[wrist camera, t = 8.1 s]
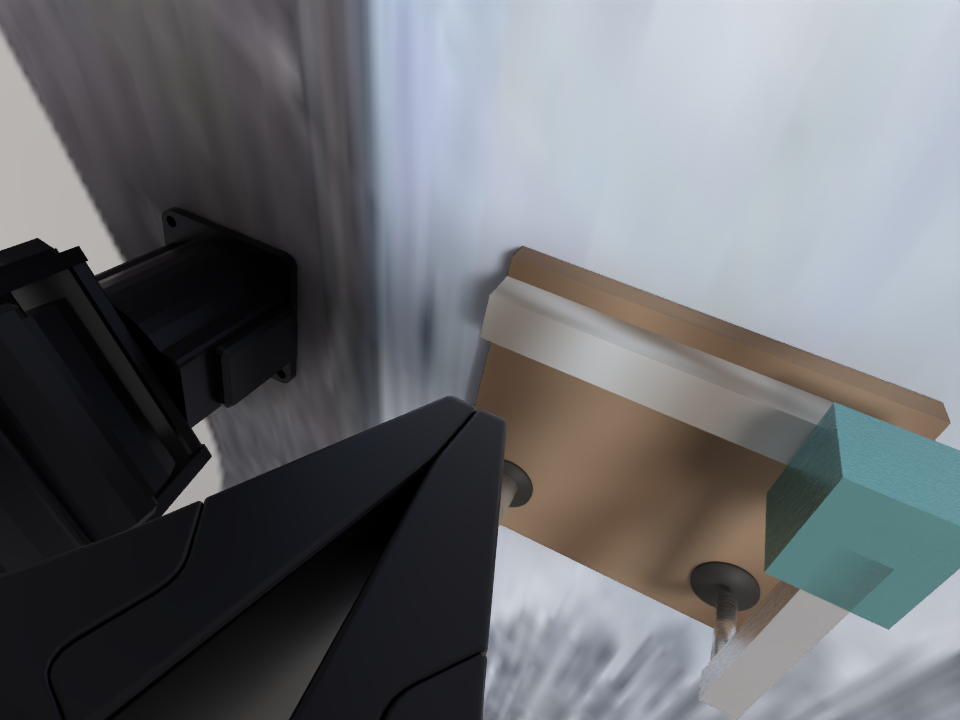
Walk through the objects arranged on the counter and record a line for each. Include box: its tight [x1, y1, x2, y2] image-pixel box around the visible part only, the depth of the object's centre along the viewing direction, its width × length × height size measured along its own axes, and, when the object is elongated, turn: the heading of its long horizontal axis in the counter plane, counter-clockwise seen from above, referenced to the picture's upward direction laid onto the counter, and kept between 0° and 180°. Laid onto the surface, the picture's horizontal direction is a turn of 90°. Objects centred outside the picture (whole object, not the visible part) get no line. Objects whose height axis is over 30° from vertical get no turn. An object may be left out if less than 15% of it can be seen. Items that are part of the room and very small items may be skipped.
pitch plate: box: [475, 246, 950, 631], centre depth 20 cm, size 13×12×4 cm
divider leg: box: [699, 402, 960, 719], centre depth 17 cm, size 3×10×4 cm, turn 168°
